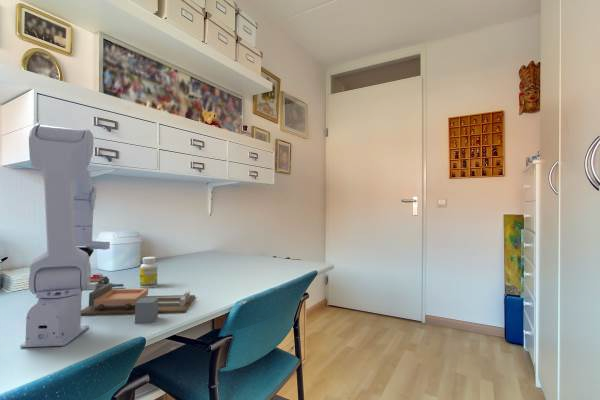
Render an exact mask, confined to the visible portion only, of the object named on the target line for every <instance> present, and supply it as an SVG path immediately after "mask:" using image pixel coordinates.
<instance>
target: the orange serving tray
mask: <svg viewBox="0 0 600 400" xmlns="http://www.w3.org/2000/svg"><path fill="white" fill-rule="evenodd" d="M112 284H113V283H110V282H109V283H108V284H106V285H104V286H102V287H100V288H98V289H96V290H92V291H91V292H89V293H88V306H97V310H102V309H103V308H104V306H120V305H124V309H125V310H128V309H129V308H130V307H131V305H135V303H136V302H137V301H138V300H139V299H141V298H144V297H145V296H149V288H121V289H120V288H113V287H112Z"/></svg>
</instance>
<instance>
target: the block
mask: <svg viewBox="0 0 600 400" xmlns="http://www.w3.org/2000/svg"><path fill="white" fill-rule="evenodd" d="M158 315H159V314H158V297H157V298H141V299H139V300H138V301H137V302H136V303H135V314H134V325H137V324H138V325H140V324H141V325H143V324H154V322H156V320H158Z"/></svg>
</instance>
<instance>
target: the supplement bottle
mask: <svg viewBox="0 0 600 400" xmlns="http://www.w3.org/2000/svg"><path fill="white" fill-rule="evenodd" d="M139 267H140V268H139V287H140V288H141V289H149V288H154V287H156V286H157V285H158V263H156V256H145V257H142V264H140V266H139Z"/></svg>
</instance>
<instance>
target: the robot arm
mask: <svg viewBox="0 0 600 400" xmlns="http://www.w3.org/2000/svg"><path fill="white" fill-rule="evenodd" d="M28 151H29V161H30V164H31V165H30V166H31V167H32V168H35V169H37V170H39V171H41V175H42V180H43V184H44V185H43V187H44V204H45V205H44V208H45V227H46V228H45V229H46V230H45V231H46V249H45V250H44V251H42V252H40V253H38V254H37V255H35V256H34V258H33V259H32V261H31V262H30V265H29V275H28V290H29V292H30V293H32V295H35V298H36V299H37V302H36V303H35V304H34V305H33V306H32V307H30V309H29V310H28V311H27V313H26V316H25V317H26V319H25V320H26V321H25V322H26V323H25V341H24V342H23V343H21V344H20V345H19V347H20V348H32V347H33V348H38V347H39V348H42V347H60V346H66V345H67V344H69V343H70V342H71V341H72V340H74V339H75V338H76V337H78V336H79V335H80V334H82V333H84V332H85V331H86V330H87V329H89V327H90V325H89V324H82V325H81V322H82V321H81V320H82V316H81V310H82V295H83V294H82V292H83V291H87V290H86V288H88V287H89V284H90V277H92V275H91V273H92V267H91V262H90V257H91V256H92V254H93V253H94V250H103V251H105V250H109V249H110V243H111V242H110V241H100V240H98V241H97V240H93V228H94V227H93V226H94V209H95V207H96V206H95V203H96V200H97V185H96V184H93V180H92V177H91V172H90V170H89V169H88V167H89V166H90V163H91V159H92V157H93V153H94V134H93V132H92V131H91V130H90V129H79V128H78V129H77V128H70V127H60V126H53V125H52V126H51V125H44V124H40V123H35V124H34V125H33V126H32V127H30V130H29V135H28Z"/></svg>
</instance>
